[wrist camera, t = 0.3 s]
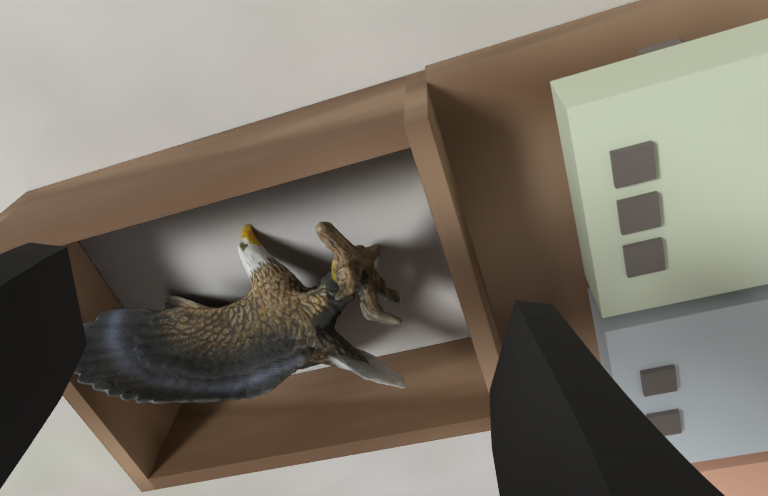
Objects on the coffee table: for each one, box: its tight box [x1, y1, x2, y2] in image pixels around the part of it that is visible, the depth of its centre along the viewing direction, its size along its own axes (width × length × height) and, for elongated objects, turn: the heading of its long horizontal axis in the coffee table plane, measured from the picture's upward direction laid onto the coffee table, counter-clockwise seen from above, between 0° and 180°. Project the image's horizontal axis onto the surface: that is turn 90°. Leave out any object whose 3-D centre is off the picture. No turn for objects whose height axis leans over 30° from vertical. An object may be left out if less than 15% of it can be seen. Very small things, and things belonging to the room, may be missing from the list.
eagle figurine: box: [74, 222, 407, 404], centre depth 20 cm, size 8×7×9 cm
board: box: [0, 0, 768, 492], centre depth 21 cm, size 20×26×4 cm
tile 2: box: [588, 284, 768, 463], centre depth 18 cm, size 6×6×2 cm
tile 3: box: [550, 18, 768, 318], centre depth 15 cm, size 6×6×2 cm
